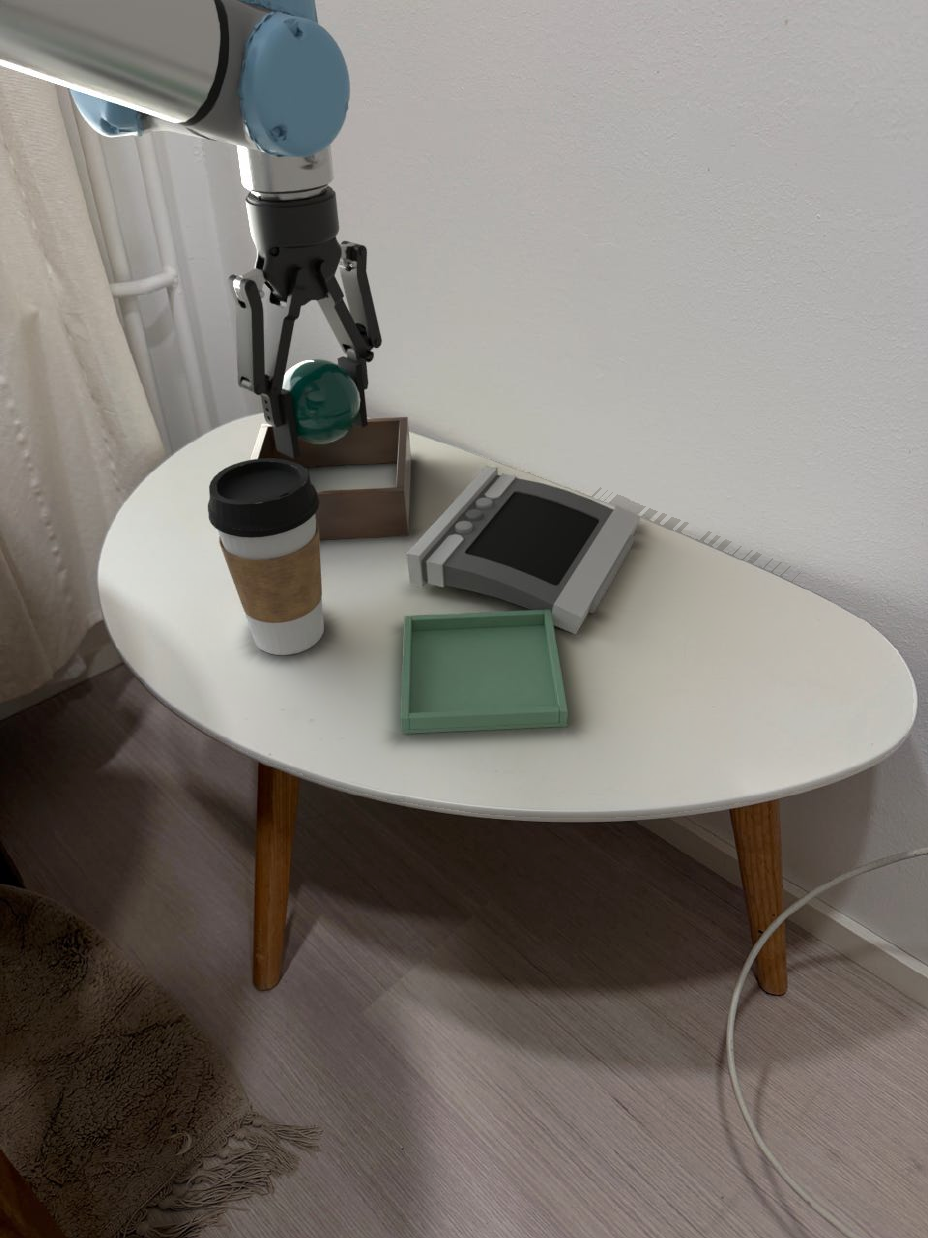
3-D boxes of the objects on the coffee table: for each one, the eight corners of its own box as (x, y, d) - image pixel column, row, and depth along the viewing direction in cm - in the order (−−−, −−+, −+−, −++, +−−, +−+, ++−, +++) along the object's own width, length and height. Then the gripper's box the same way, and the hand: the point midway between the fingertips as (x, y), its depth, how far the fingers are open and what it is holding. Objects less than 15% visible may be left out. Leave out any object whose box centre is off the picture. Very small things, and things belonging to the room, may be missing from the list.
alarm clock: (486, 465, 91) (646, 491, 86) (488, 506, 94) (643, 534, 88) (406, 553, 79) (587, 590, 73) (411, 597, 82) (586, 636, 76)
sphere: (267, 438, 91) (254, 360, 86) (335, 414, 95) (326, 339, 90) (310, 467, 86) (298, 386, 81) (380, 441, 90) (372, 362, 85)
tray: (402, 734, 68) (400, 718, 67) (405, 630, 77) (404, 615, 76) (567, 726, 68) (567, 711, 67) (550, 623, 77) (550, 609, 76)
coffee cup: (273, 680, 73) (237, 519, 64) (220, 631, 78) (180, 476, 69) (358, 634, 77) (337, 477, 68) (303, 591, 82) (276, 439, 73)
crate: (247, 543, 89) (237, 498, 86) (269, 465, 101) (261, 423, 98) (408, 535, 89) (404, 490, 86) (411, 458, 101) (407, 416, 98)
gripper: (210, 222, 69) (260, 490, 83) (410, 171, 80) (424, 412, 94) (156, 207, 73) (212, 464, 87) (354, 160, 85) (375, 393, 99)
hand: (323, 437), depth 91 cm, fingers closed on sphere, 8 cm apart
